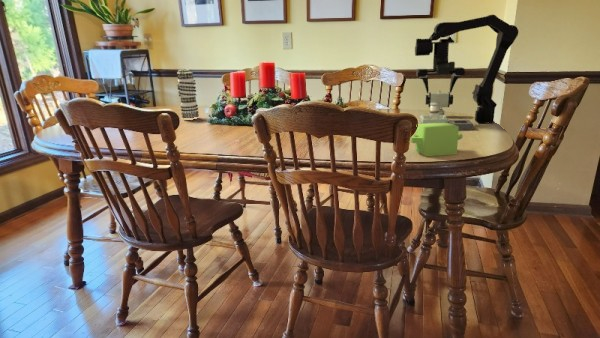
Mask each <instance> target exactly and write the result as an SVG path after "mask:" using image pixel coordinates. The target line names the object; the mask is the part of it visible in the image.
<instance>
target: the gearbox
mask: <svg viewBox="0 0 600 338" xmlns="http://www.w3.org/2000/svg"><path fill="white" fill-rule="evenodd" d="M417 124H418V128H417V130H415V131H416V132H415V134H413V136H412V137H411V139H410V141H409V142H410V143H412V144H415V151H416V152H418V153H419V154H421V155H423V156H427V157H431V156H433V157H434V156H448V155H449V156H450V155H456V154H458V153H457V152H458V144H459V143H458V142H459V140H462V139H463V137H464V135H463V133H460V132H459V131H460V130H459V127H458V126H456V125H453V124H449V122H448V123H426V124H421V123H417Z"/></svg>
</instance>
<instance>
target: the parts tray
mask: <svg viewBox="0 0 600 338" xmlns="http://www.w3.org/2000/svg"><path fill="white" fill-rule="evenodd" d="M419 117H420V118H419V122H420V124H426V123H449V118H448V117H447V116H446V115H445V114H444V115H439V119H430V114H429V115H428V114H423V115H422V114H421V115H420V116H419Z"/></svg>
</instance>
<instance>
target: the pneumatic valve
mask: <svg viewBox="0 0 600 338" xmlns="http://www.w3.org/2000/svg"><path fill="white" fill-rule="evenodd" d="M424 101H425V105H427V106H428V108H430V103H434V102H436V103H440V105H439V115H445V110H444V109H443V108H450V106H451V105H453V103H454V94H451V93H450V91H442V90H441V89H440V90H438V91H436V92H435V91H434V92H433V91H430V92H429V91H428V94H426V95H425V100H424Z"/></svg>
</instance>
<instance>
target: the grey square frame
mask: <svg viewBox="0 0 600 338" xmlns="http://www.w3.org/2000/svg"><path fill="white" fill-rule="evenodd" d="M448 123H449V124H453V125H456V126H458V127H459V130H458V131H473V130H474V123H473V122H472V121H471V120H470V119H448Z"/></svg>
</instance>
